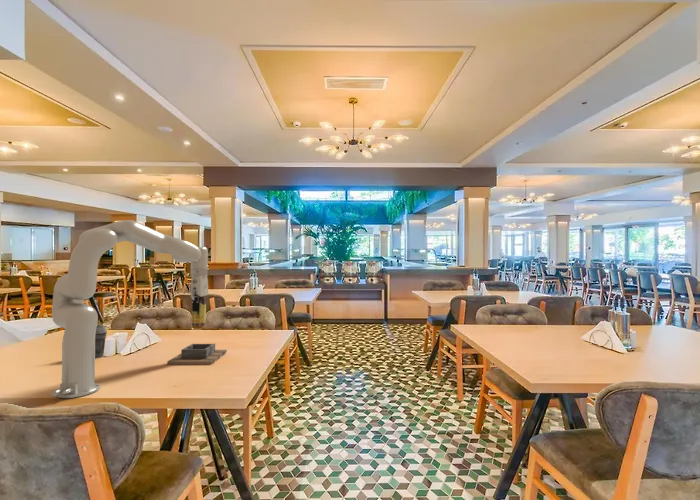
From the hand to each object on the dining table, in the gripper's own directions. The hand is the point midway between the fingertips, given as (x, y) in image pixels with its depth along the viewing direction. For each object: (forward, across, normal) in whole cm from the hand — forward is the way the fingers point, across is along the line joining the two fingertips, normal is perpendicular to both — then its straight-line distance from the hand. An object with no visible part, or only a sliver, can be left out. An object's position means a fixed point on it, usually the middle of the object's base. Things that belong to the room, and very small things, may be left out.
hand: (198, 309), depth 172 cm
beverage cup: (+23, +3, +50) cm, 55 cm away
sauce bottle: (+8, 0, 0) cm, 8 cm away
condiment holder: (+23, 0, 0) cm, 23 cm away
